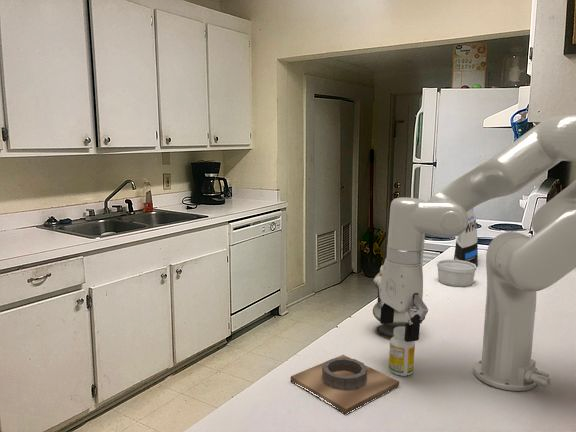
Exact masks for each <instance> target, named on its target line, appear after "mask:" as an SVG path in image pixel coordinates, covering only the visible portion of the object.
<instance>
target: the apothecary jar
mask: <svg viewBox="0 0 576 432" xmlns="http://www.w3.org/2000/svg"><path fill="white" fill-rule="evenodd" d="M383 266H384V264H383V265H381V266H380V268H379V272H378V273H377V274H376V275H375V276H374V278H373V285H374V287H376V288H377V301H376V303H375V304H374V305H373V307H372V315H373V316H374V318H375V319H376V320H377V321H378V322H380V316H381V307H383V306H381V305H380V301H381V299H380V296H379V293H380V292H379V286H378V284H379V283H381V276H382V271H383ZM409 309H411V308H409ZM411 316H412V317H414V316H415V314H414V313H411ZM406 323H408V321H407V318H406V315H405V312H404V313H400V312H398V311H396V310H395V309H394V320H393V323H389V324H380V325H378V326H377V327H376V330H375V332H376V334H377V335H379V336H381V337H384V339H388V340H390V339H391V338H392V337H393V336H394V334H393V333H394V328H395V327H399V326H403V327H405V325H406Z"/></svg>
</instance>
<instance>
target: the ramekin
mask: <svg viewBox="0 0 576 432" xmlns="http://www.w3.org/2000/svg"><path fill="white" fill-rule="evenodd" d="M436 267H437V278H438V281H439V282H440V283H441V284H442V285H445V286H449V287H455V288H456V287H457V288H467V287H469V286H471V285H472V284H473V282H474V279H475V275H476V271H477V267H476V265H475V264H473V263H470V262H467V261H462V260H454V259H443V260H438V262H437V263H436Z"/></svg>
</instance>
